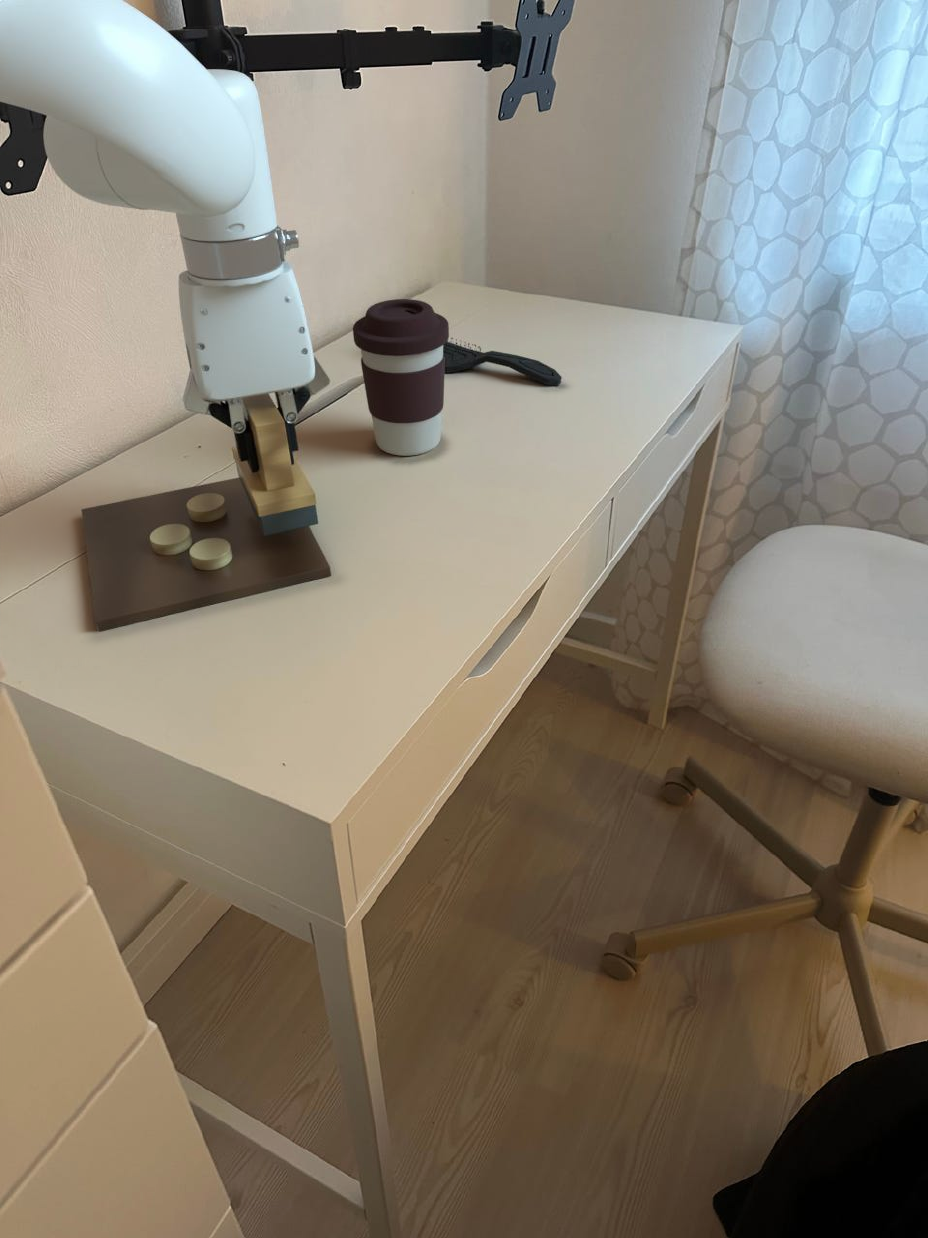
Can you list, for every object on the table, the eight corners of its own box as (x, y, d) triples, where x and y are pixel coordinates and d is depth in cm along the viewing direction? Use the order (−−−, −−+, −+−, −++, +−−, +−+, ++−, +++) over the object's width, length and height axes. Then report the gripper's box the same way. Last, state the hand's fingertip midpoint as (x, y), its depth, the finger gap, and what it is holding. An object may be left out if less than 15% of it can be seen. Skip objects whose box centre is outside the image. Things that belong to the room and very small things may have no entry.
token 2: (192, 525, 85) (189, 514, 85) (186, 508, 88) (184, 497, 87) (229, 517, 86) (227, 506, 86) (223, 500, 89) (221, 489, 88)
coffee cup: (369, 467, 96) (356, 329, 87) (360, 428, 104) (346, 297, 95) (460, 457, 97) (456, 320, 88) (444, 419, 105) (438, 289, 96)
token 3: (195, 574, 79) (192, 563, 78) (189, 553, 82) (186, 542, 81) (235, 565, 80) (233, 553, 79) (228, 545, 83) (226, 534, 82)
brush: (262, 536, 79) (243, 439, 73) (237, 476, 88) (218, 385, 82) (319, 524, 81) (305, 427, 75) (289, 466, 89) (274, 375, 84)
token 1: (155, 559, 81) (151, 548, 80) (150, 539, 84) (147, 528, 83) (195, 550, 82) (192, 539, 81) (189, 531, 85) (186, 520, 84)
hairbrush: (547, 374, 108) (375, 331, 117) (545, 403, 110) (376, 358, 119) (575, 351, 113) (409, 312, 123) (572, 379, 116) (409, 338, 125)
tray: (98, 631, 74) (95, 622, 74) (84, 517, 89) (81, 508, 88) (331, 575, 80) (330, 566, 79) (281, 477, 95) (280, 468, 94)
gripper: (320, 229, 76) (343, 429, 87) (123, 254, 71) (175, 462, 82) (345, 252, 70) (366, 462, 81) (133, 281, 66) (187, 499, 77)
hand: (269, 460), depth 82 cm, fingers closed on brush, 2 cm apart
